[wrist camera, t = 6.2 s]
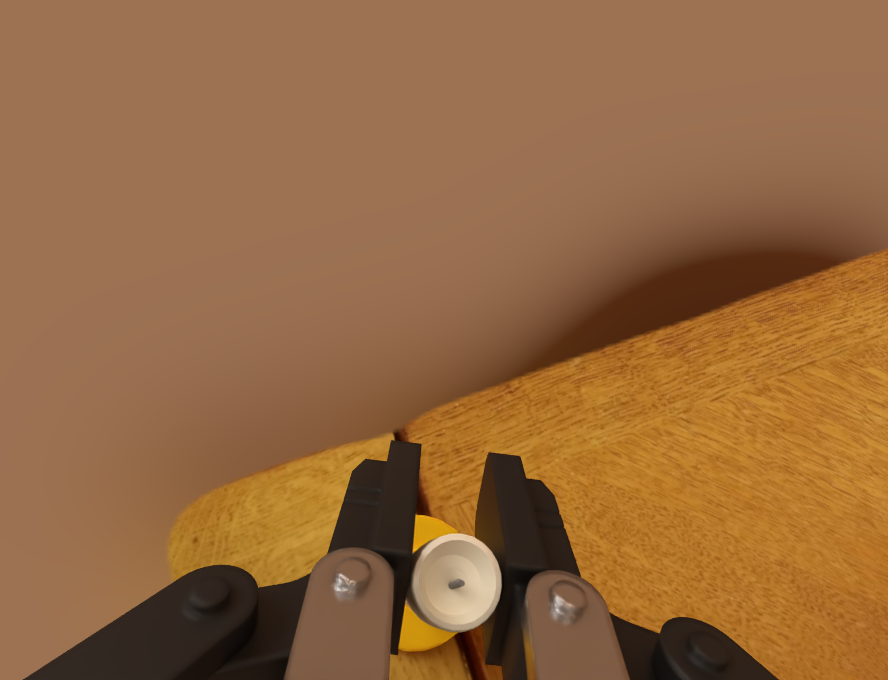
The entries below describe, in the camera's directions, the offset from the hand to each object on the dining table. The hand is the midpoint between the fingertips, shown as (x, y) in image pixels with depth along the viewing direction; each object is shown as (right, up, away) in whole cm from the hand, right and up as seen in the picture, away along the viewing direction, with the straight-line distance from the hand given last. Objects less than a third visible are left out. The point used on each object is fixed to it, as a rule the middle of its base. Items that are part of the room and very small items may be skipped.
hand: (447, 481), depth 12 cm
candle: (-1, -7, +10) cm, 12 cm away
